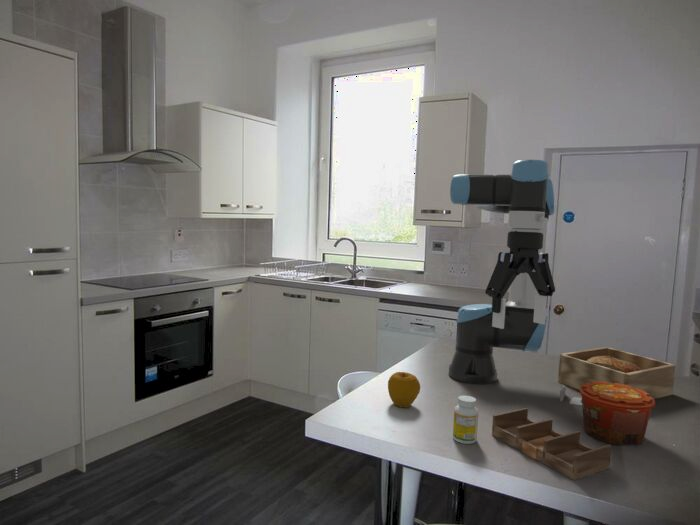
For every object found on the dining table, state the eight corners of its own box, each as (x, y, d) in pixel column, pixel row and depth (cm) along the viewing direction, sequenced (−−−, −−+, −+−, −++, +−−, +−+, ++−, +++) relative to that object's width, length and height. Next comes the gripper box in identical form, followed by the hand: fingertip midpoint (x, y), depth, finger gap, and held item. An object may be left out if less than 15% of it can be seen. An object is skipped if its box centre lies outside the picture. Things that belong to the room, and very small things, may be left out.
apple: (422, 402, 134) (424, 371, 133) (413, 413, 126) (415, 380, 125) (393, 397, 138) (394, 366, 137) (382, 407, 130) (383, 374, 129)
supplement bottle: (469, 446, 109) (472, 404, 108) (448, 439, 112) (450, 398, 111) (480, 439, 113) (483, 398, 112) (459, 432, 116) (461, 392, 115)
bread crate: (556, 381, 156) (558, 354, 155) (604, 372, 168) (606, 346, 167) (625, 406, 137) (627, 375, 136) (673, 394, 149) (676, 365, 148)
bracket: (598, 411, 134) (599, 398, 133) (559, 402, 139) (560, 391, 139) (601, 403, 139) (602, 392, 139) (563, 396, 144) (564, 384, 144)
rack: (491, 435, 115) (492, 415, 115) (524, 426, 120) (526, 407, 120) (573, 480, 96) (575, 456, 95) (609, 468, 101) (611, 445, 101)
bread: (567, 383, 154) (569, 352, 153) (590, 373, 166) (593, 344, 165) (639, 403, 139) (642, 369, 138) (659, 390, 151) (662, 358, 150)
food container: (616, 419, 128) (620, 378, 127) (668, 447, 112) (672, 402, 111) (562, 422, 124) (565, 381, 123) (608, 452, 109) (612, 405, 108)
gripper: (499, 230, 100) (492, 333, 101) (575, 233, 112) (568, 324, 114) (472, 228, 106) (466, 325, 108) (547, 231, 119) (541, 318, 120)
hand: (519, 325), depth 111 cm, fingers open, 13 cm apart
